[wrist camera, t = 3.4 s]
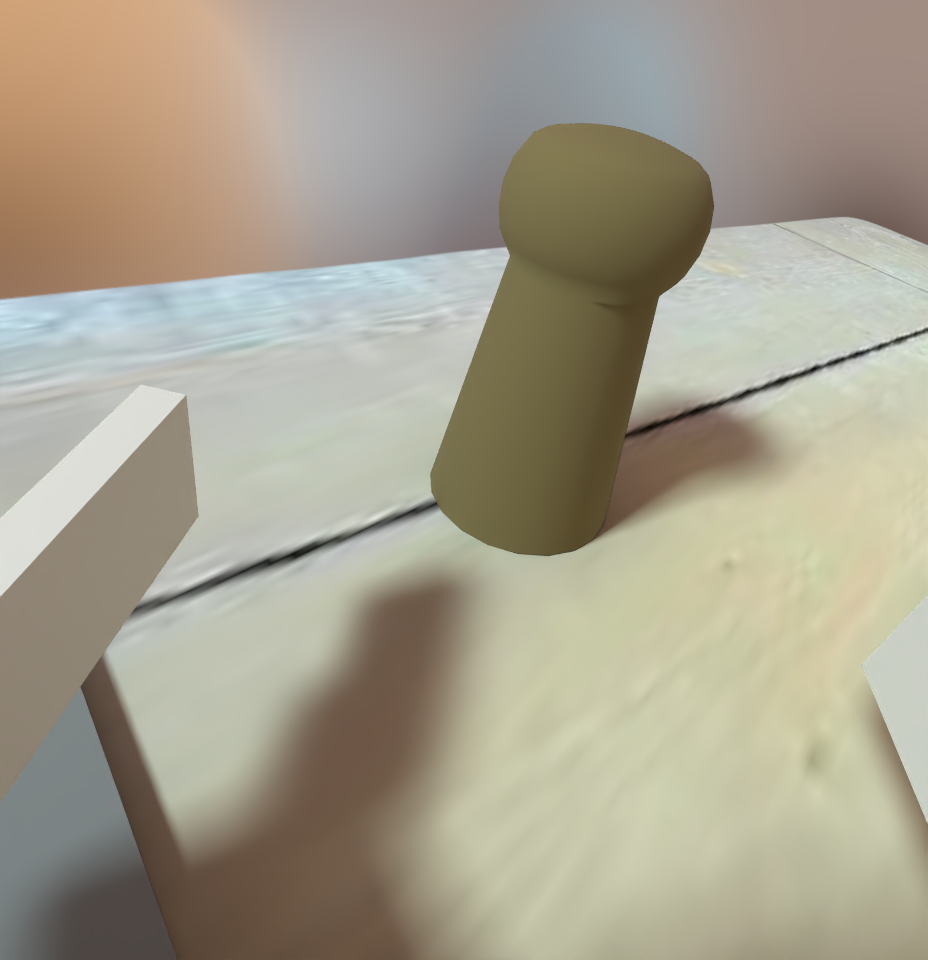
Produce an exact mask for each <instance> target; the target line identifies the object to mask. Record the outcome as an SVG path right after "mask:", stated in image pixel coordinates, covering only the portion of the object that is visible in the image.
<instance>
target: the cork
mask: <svg viewBox="0 0 928 960" xmlns="http://www.w3.org/2000/svg"><path fill="white" fill-rule="evenodd" d="M713 210H714V202H713V195H712V188H711V182H710V178H709V175H708V174H707V173H706V171H705V170H704V169H703V168H702V166H701V165H700V164H699V163H698V162H697V161H696V160H694V159H693V158H692V157H690V156H688V155H687V154H685V153H683V152H681V151H680V150H678V149H676V148H674V147H673V146H671V145H669V144H667V143H665V142H663V141H661V140H658V139H656V138H653V137H651V136H648V135H646V134H643V133H640V132H636V131H633V130H629V129H625V128H621V127H616V126H608V125H599V124H585V123H584V124H583V123H580V124H579V123H577V124H556V125H551V126H547V127H545V128H543V129H540V130H538V131H535V132H534V133H533V134H532V135H531V136H530V137H529V139H528V140H527V141H526V142H525V144H524V145H523V146H522V147H521V148H520V149H519V150H518V152H517V153H516V154H515V155H514V157H513V159H512V161H511V164H510V166H509V168H508V170H507V172H506V175H505V177H504V180H503V185H502V191H501V196H500V202H499V212H500V213H499V215H500V229H501V233H502V235H503V238H504V241H505V244H506V246H507V249H508V251H509V254H510V257H509V260H508V263H507V266H506V268H505V271H504V274H503V277H502V279H501V282H500V285H499V288H498V290H497V293H496V296H495V299H494V301H493V304H492V307H491V309H490V312H489V315H488V318H487V320H486V323H485V326H484V329H483V331H482V334H481V337H480V340H479V342H478V345H477V348H476V351H475V353H474V356H473V359H472V361H471V364H470V367H469V370H468V372H467V375H466V378H465V381H464V383H463V386H462V389H461V392H460V394H459V397H458V400H457V403H456V405H455V408H454V411H453V413H452V416H451V419H450V422H449V424H448V427H447V430H446V433H445V435H444V438H443V441H442V444H441V446H440V449H439V452H438V455H437V457H436V460H435V463H434V465H433V468H432V471H431V490H432V494H433V496H434V498H435V499H436V501H437V503H438V505H439V507H440V509H441V511H442V512H443V513H444V514H445V515H446V516H447V517H448V518H449V519H450V520H451V521H452V522H453V523H454V524H456V525H457V526H458V527H459V528H460V529H461V530H462V531H464V532H466V533H468V534H469V535H471V536H473V537H475V538H477V539H478V540H480V541H482V542H484V543H486V544H487V545H490V546H494V547H497V548H501V549H504V550H507V551H511V552H514V553H517V554H531V555H545V556H549V555H554V554H559V553H565V552H570V551H574V550H576V549H578V548H580V547H581V546H583V545H585V544H587V543H588V542H590V541H592V540H593V539H594V538H595V536H596V535H597V533H598V532H599V531H600V529H601V528H602V526H603V525H604V521H605V517H606V513H607V509H608V505H609V501H610V497H611V493H612V489H613V484H614V480H615V476H616V472H617V468H618V464H619V460H620V456H621V451H622V447H623V443H624V439H625V435H626V431H627V427H628V423H629V418H630V414H631V410H632V406H633V402H634V398H635V394H636V390H637V385H638V381H639V377H640V373H641V369H642V365H643V361H644V357H645V353H646V348H647V344H648V340H649V336H650V332H651V328H652V324H653V320H654V315H655V311H656V307H657V303H658V299H659V296H660V295H662V294H663V293H664V292H666V291H667V290H669V289H670V288H672V287H673V286H674V285H676V284H677V283H678V282H679V281H680V280H681V279H682V278H684V277H685V275H686V274H687V272H688V271H689V270H690V268H691V267H692V265H693V264H694V263H695V261H696V260H697V258H698V257H699V256H700V254H701V251H702V249H703V247H704V244H705V242H706V240H707V237H708V235H709V233H710V228H711V222H712V216H713Z"/></svg>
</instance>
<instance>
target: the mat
mask: <svg viewBox="0 0 928 960" xmlns="http://www.w3.org/2000/svg"><path fill="white" fill-rule="evenodd" d="M0 960H178V959H177V956H176V954H175V951H174V948H173V945H172V942H171V939H170V937H169V934H168V931H167V928H166V925H165V923H164V920H163V917H162V914H161V911H160V909H159V906H158V903H157V900H156V897H155V894H154V892H153V889H152V886H151V883H150V880H149V878H148V875H147V872H146V869H145V866H144V864H143V861H142V858H141V855H140V852H139V849H138V847H137V844H136V841H135V838H134V835H133V833H132V830H131V827H130V824H129V821H128V819H127V816H126V813H125V810H124V807H123V804H122V802H121V799H120V796H119V793H118V790H117V788H116V785H115V782H114V779H113V776H112V773H111V771H110V768H109V765H108V762H107V759H106V757H105V754H104V751H103V748H102V745H101V743H100V740H99V737H98V734H97V731H96V728H95V726H94V723H93V720H92V717H91V714H90V712H89V709H88V706H87V703H86V700H85V698H84V695H83V692H82V689H81V687H80V688H79V689H78V691H77V692H76V694H75V695H74V697H73V698H72V700H71V701H70V702H69V704H68V705H67V707H66V708H65V710H64V711H63V713H62V714H61V715H60V717H59V718H58V720H57V721H56V723H55V724H54V726H53V727H52V728H51V730H50V731H49V733H48V734H47V736H46V737H45V739H44V740H43V741H42V743H41V744H40V746H39V747H38V749H37V750H36V752H35V753H34V754H33V756H32V757H31V759H30V760H29V762H28V763H27V765H26V766H25V767H24V769H23V770H22V772H21V773H20V775H19V776H18V778H17V779H16V780H15V782H14V783H13V785H12V786H11V788H10V789H9V791H8V792H7V794H6V795H5V796H4V798H3V799H2V801H1V802H0Z"/></svg>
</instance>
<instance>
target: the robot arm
mask: <svg viewBox="0 0 928 960" xmlns="http://www.w3.org/2000/svg"><path fill="white" fill-rule="evenodd" d="M197 517H198V506H197V496H196V487H195V477H194V467H193V457H192V447H191V437H190V427H189V418H188V408H187V398H186V395H185V394H180V393H176V392H172V391H167V390H163V389H158V388H154V387H149V386H145V385H140V386H139V387H138V388H137V389H136V390H135V391H134V392H133V393H132V394H131V395H130V396H129V397H127V398H126V399H125V400H124V401H123V402H122V403H121V404H120V405H119V406H118V407H117V408H116V409H115V410H114V411H113V412H112V413H111V414H110V415H109V416H107V417H106V418H105V419H104V420H103V421H102V422H101V423H100V424H99V425H98V426H97V427H96V428H95V429H94V430H93V431H92V432H91V433H90V434H89V435H87V436H86V437H85V438H84V439H83V440H82V441H81V442H80V443H79V444H78V445H77V446H76V447H75V448H74V449H73V450H72V451H71V452H70V453H68V454H67V455H66V456H65V457H64V458H63V459H62V460H61V461H60V462H59V463H58V464H57V465H56V466H55V467H54V468H53V469H52V470H51V471H50V472H48V473H47V474H46V475H45V476H44V477H43V478H42V479H41V480H40V481H39V482H38V483H37V484H36V485H35V486H34V487H33V488H32V489H31V490H30V491H28V492H27V493H26V494H25V495H24V496H23V497H22V498H21V499H20V500H19V501H18V502H17V503H16V504H15V505H14V506H13V507H12V508H11V509H10V510H8V511H7V512H6V513H5V514H4V515H3V516H2V517H1V518H0V802H1V801H2V799H3V798H4V796H5V795H6V794H7V792H8V791H9V789H10V788H11V786H12V785H13V783H14V782H15V780H16V779H17V778H18V776H19V775H20V773H21V772H22V770H23V769H24V767H25V766H26V765H27V763H28V762H29V760H30V759H31V757H32V756H33V754H34V753H35V752H36V750H37V749H38V747H39V746H40V744H41V743H42V741H43V740H44V739H45V737H46V736H47V734H48V733H49V731H50V730H51V728H52V727H53V726H54V724H55V723H56V721H57V720H58V718H59V717H60V715H61V714H62V713H63V711H64V710H65V708H66V707H67V705H68V704H69V702H70V701H71V700H72V698H73V697H74V695H75V694H76V692H77V691H78V689H79V688H80V687H81V685H82V684H83V682H84V681H85V679H86V678H87V676H88V675H89V674H90V672H91V671H92V669H93V668H94V666H95V665H96V663H97V662H98V661H99V659H100V658H101V656H102V655H103V653H104V652H105V650H106V649H107V647H108V646H109V645H110V643H111V642H112V640H113V639H114V637H115V636H116V634H117V633H118V632H119V630H120V629H121V627H122V626H123V624H124V623H125V621H126V620H127V619H128V617H129V616H130V614H131V613H132V611H133V610H134V608H135V607H136V606H137V604H138V603H139V601H140V600H141V598H142V597H143V595H144V594H145V593H146V591H147V590H148V588H149V587H150V585H151V584H152V582H153V581H154V580H155V578H156V577H157V575H158V574H159V572H160V571H161V569H162V568H163V567H164V565H165V564H166V562H167V561H168V559H169V558H170V556H171V555H172V554H173V552H174V551H175V549H176V548H177V546H178V545H179V543H180V542H181V541H182V539H183V538H184V536H185V535H186V533H187V532H188V530H189V529H190V528H191V526H192V525H193V523H194V522H195V520H196V519H197ZM862 668H863V670H864V672H865V675H866V677H867V680H868V682H869V684H870V687H871V689H872V692H873V694H874V696H875V699H876V701H877V704H878V706H879V708H880V711H881V713H882V716H883V718H884V720H885V723H886V725H887V728H888V730H889V732H890V735H891V737H892V740H893V742H894V744H895V747H896V749H897V752H898V754H899V756H900V759H901V761H902V764H903V766H904V768H905V771H906V773H907V776H908V778H909V780H910V783H911V785H912V788H913V790H914V792H915V795H916V797H917V800H918V802H919V804H920V807H921V809H922V812H923V814H924V816H925V819H926V821H927V824H928V595H927V596H926V597H925V598H924V599H923V600H922V601H921V602H920V603H919V604H918V605H917V606H916V608H915V609H914V610H913V611H912V612H911V613H910V614H909V615H908V616H907V617H906V618H905V619H904V620H903V621H902V622H901V624H900V625H899V626H898V627H897V628H896V629H895V630H894V631H893V632H892V633H891V634H890V635H889V636H888V637H887V638H886V639H885V641H884V642H883V643H882V644H881V645H880V646H879V647H878V648H877V649H876V650H875V651H874V652H873V653H872V654H871V655H870V656H869V658H868V659H867V660H866V661H865V662H864V663H863V664H862Z"/></svg>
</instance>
